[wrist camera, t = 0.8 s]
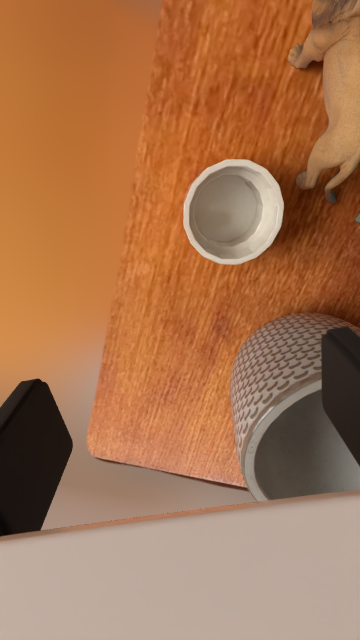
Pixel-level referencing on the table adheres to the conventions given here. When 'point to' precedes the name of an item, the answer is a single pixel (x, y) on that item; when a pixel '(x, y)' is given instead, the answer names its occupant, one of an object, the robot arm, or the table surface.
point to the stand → (358, 218)
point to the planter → (288, 412)
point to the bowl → (233, 211)
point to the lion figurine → (334, 89)
